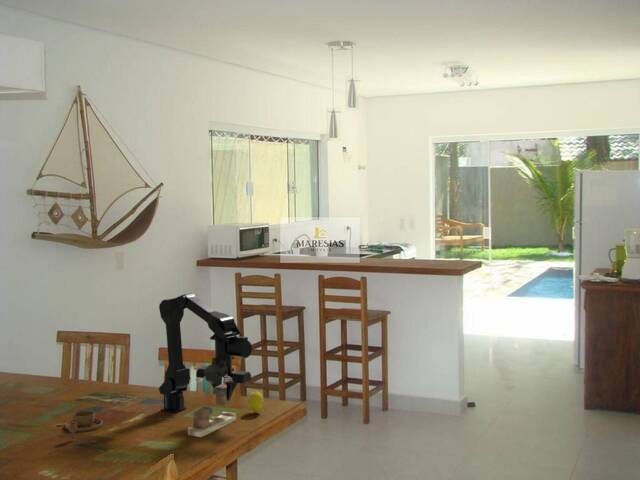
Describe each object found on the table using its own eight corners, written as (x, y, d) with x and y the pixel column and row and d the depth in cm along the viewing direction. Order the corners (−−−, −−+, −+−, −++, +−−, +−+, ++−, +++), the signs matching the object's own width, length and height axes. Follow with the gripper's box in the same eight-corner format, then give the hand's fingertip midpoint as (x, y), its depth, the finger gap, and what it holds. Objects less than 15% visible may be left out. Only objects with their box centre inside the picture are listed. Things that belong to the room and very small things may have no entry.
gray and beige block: (212, 405, 255) (212, 387, 254) (221, 401, 260) (221, 384, 259) (221, 407, 253) (221, 389, 253) (230, 403, 258) (230, 385, 258)
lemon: (261, 415, 265) (261, 393, 265) (245, 414, 266) (245, 392, 266) (265, 411, 270) (265, 389, 270) (250, 410, 272) (250, 388, 271)
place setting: (117, 426, 254) (117, 409, 254) (74, 444, 236) (74, 425, 235) (76, 419, 261) (76, 402, 261) (32, 436, 243) (31, 418, 243)
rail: (188, 434, 244) (187, 411, 243) (223, 418, 262) (223, 396, 262) (200, 437, 242) (200, 413, 241) (236, 420, 260) (236, 398, 259)
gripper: (186, 355, 253) (186, 401, 254) (233, 361, 245) (233, 409, 246) (205, 349, 263) (205, 394, 264) (252, 355, 255) (252, 401, 256)
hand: (223, 399), depth 257 cm, fingers closed on gray and beige block, 4 cm apart
